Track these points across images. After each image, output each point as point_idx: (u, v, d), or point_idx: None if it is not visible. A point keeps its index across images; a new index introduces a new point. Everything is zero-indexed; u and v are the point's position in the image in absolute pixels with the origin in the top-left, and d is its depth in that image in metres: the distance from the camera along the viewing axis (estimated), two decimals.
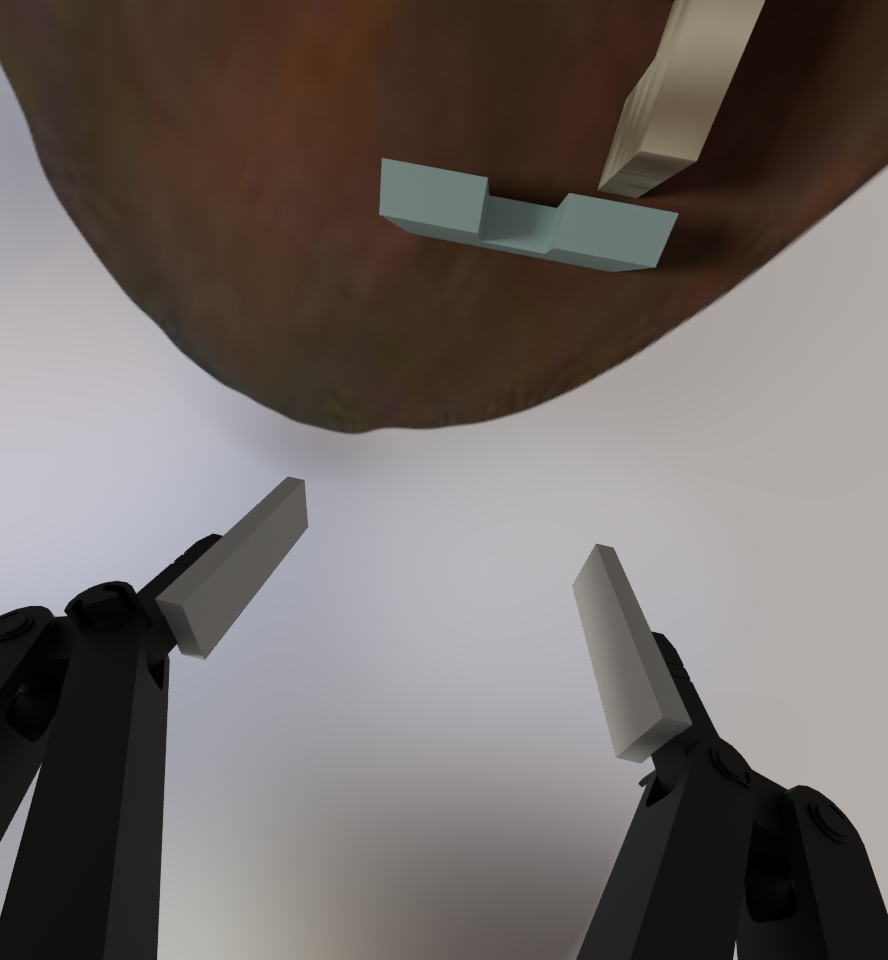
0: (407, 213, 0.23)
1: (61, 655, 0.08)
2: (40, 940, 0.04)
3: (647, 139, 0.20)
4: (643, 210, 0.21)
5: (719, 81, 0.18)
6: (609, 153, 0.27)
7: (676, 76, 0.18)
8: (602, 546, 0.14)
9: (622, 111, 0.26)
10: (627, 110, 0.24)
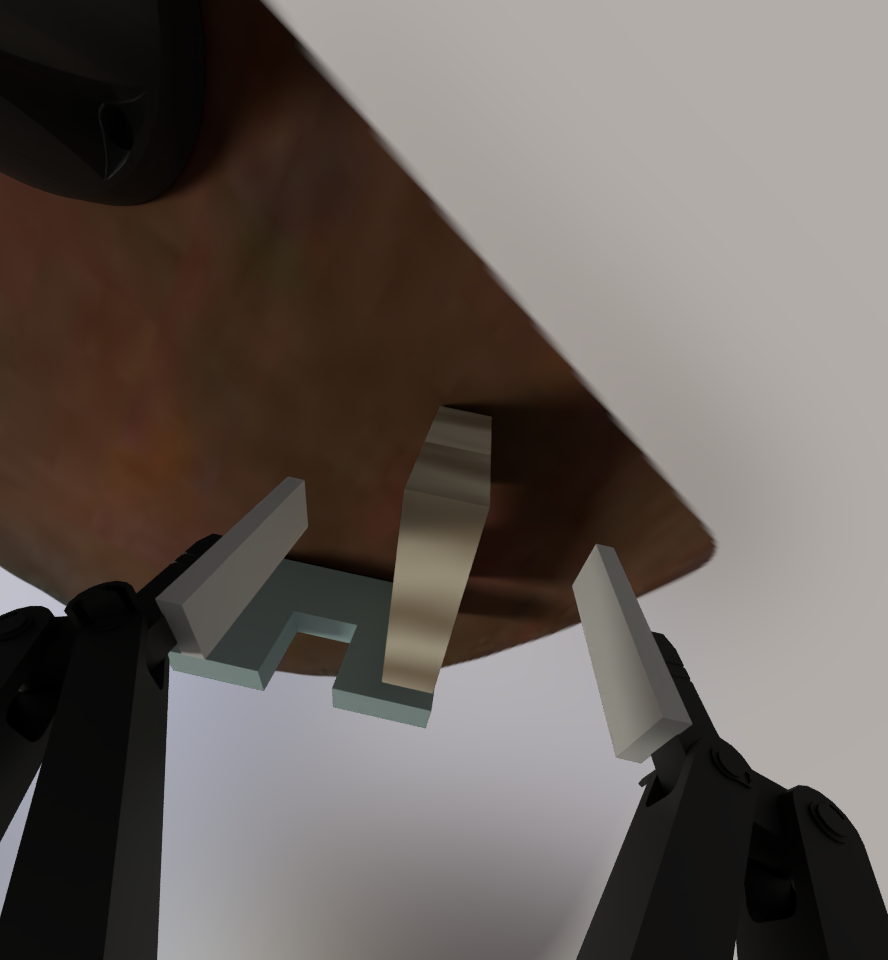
0: (197, 673, 0.25)
1: (61, 655, 0.08)
2: (40, 940, 0.04)
3: (385, 678, 0.21)
4: (400, 705, 0.23)
5: (431, 667, 0.20)
6: None
7: (393, 659, 0.20)
8: (602, 546, 0.14)
9: None
10: None
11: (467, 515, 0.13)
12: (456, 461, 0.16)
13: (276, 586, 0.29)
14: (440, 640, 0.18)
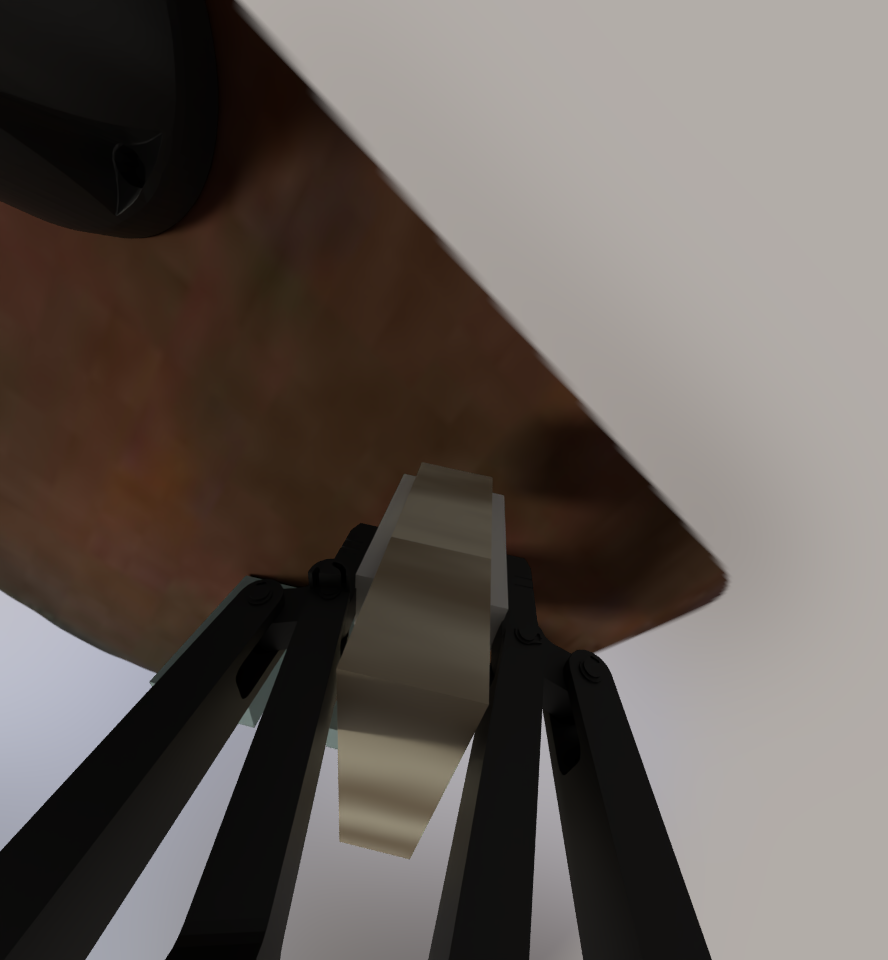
0: None
1: (296, 618, 0.10)
2: (238, 861, 0.05)
3: (343, 840, 0.15)
4: None
5: (405, 840, 0.14)
6: None
7: (351, 827, 0.14)
8: (494, 494, 0.16)
9: None
10: None
11: (450, 709, 0.08)
12: (436, 580, 0.10)
13: None
14: (415, 821, 0.12)
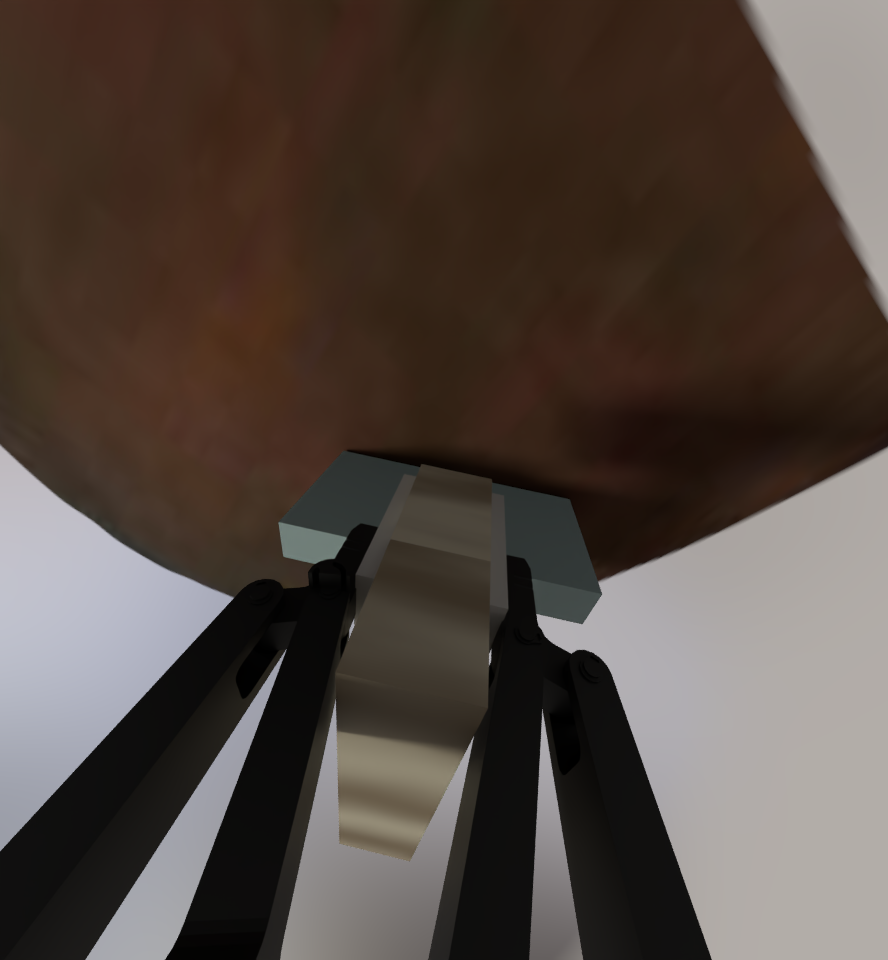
0: (313, 559, 0.21)
1: (296, 618, 0.10)
2: (238, 862, 0.05)
3: (343, 842, 0.15)
4: (564, 587, 0.19)
5: (404, 842, 0.14)
6: None
7: (351, 829, 0.14)
8: (494, 494, 0.16)
9: None
10: None
11: (449, 713, 0.08)
12: (436, 582, 0.10)
13: (383, 480, 0.26)
14: (415, 824, 0.12)
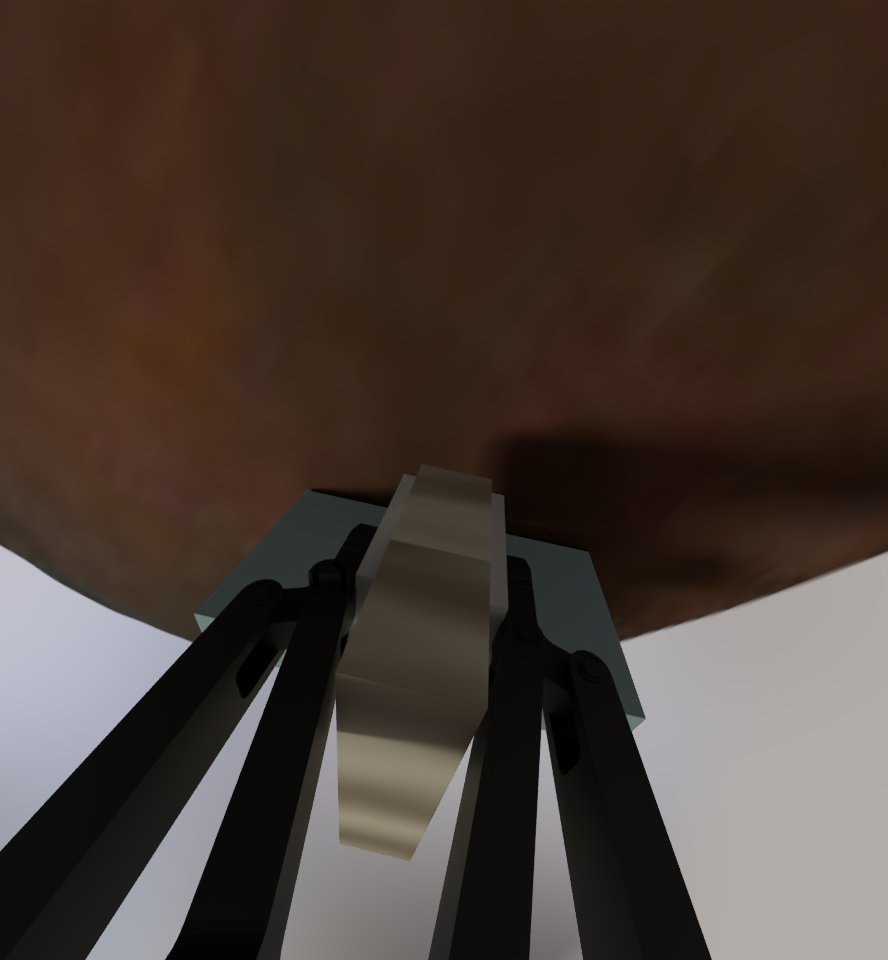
0: None
1: (296, 618, 0.10)
2: (238, 862, 0.05)
3: (343, 842, 0.15)
4: None
5: (405, 842, 0.14)
6: None
7: (351, 829, 0.14)
8: (494, 494, 0.16)
9: None
10: None
11: (449, 713, 0.08)
12: (436, 582, 0.10)
13: None
14: (415, 824, 0.12)
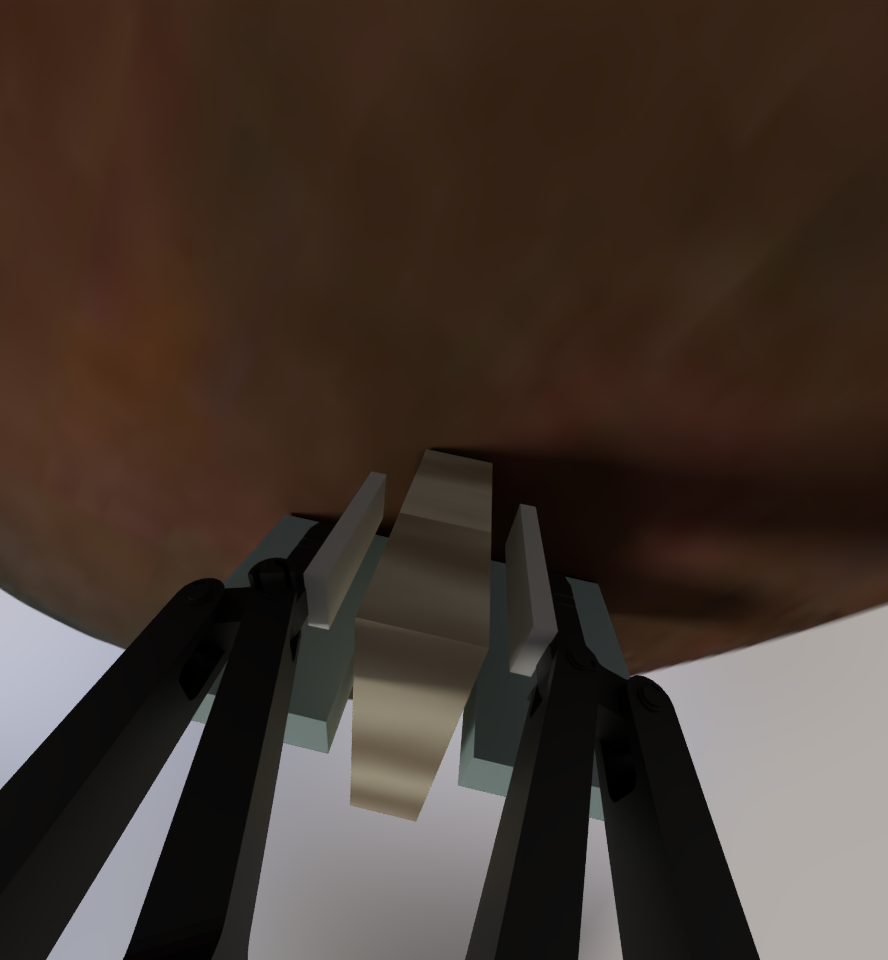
0: (206, 720, 0.13)
1: (237, 619, 0.09)
2: (188, 870, 0.05)
3: (354, 803, 0.16)
4: None
5: (412, 799, 0.15)
6: None
7: (362, 787, 0.15)
8: (525, 505, 0.15)
9: None
10: None
11: (455, 654, 0.09)
12: (441, 548, 0.11)
13: None
14: (422, 777, 0.13)
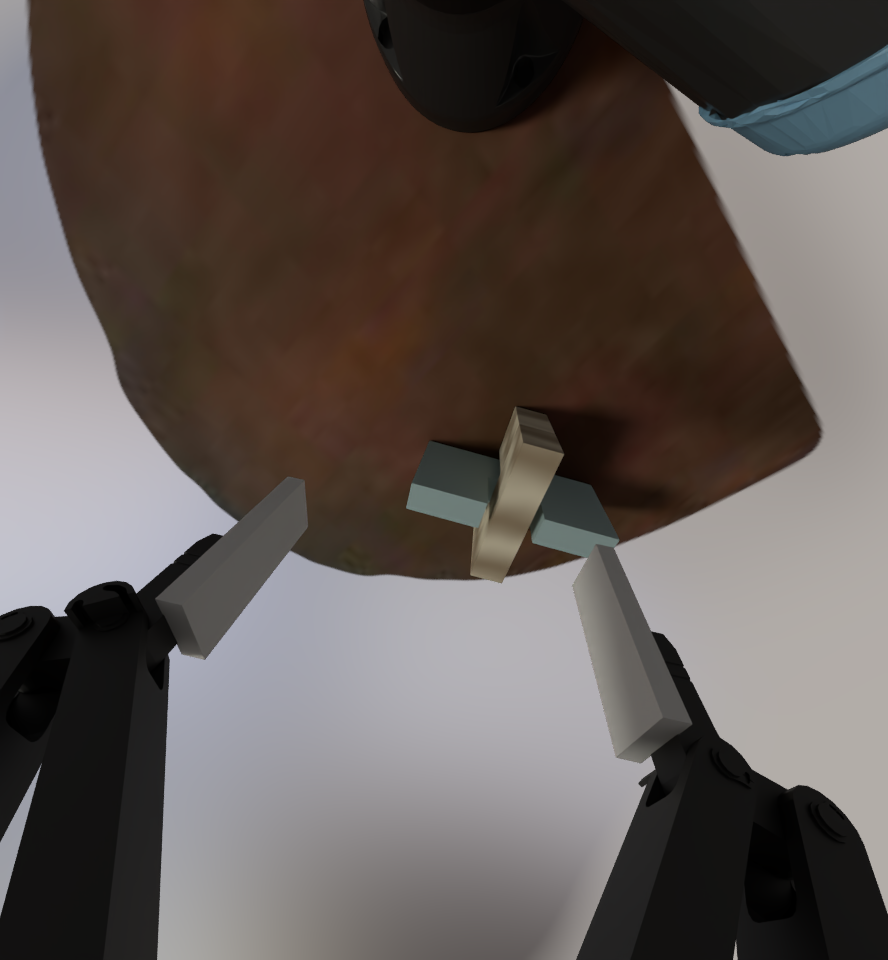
0: (427, 511, 0.31)
1: (61, 655, 0.08)
2: (40, 940, 0.04)
3: (473, 572, 0.34)
4: (595, 534, 0.30)
5: (506, 561, 0.33)
6: None
7: (483, 555, 0.33)
8: (602, 546, 0.14)
9: None
10: None
11: (552, 458, 0.27)
12: (539, 434, 0.29)
13: (464, 462, 0.36)
14: (517, 540, 0.32)
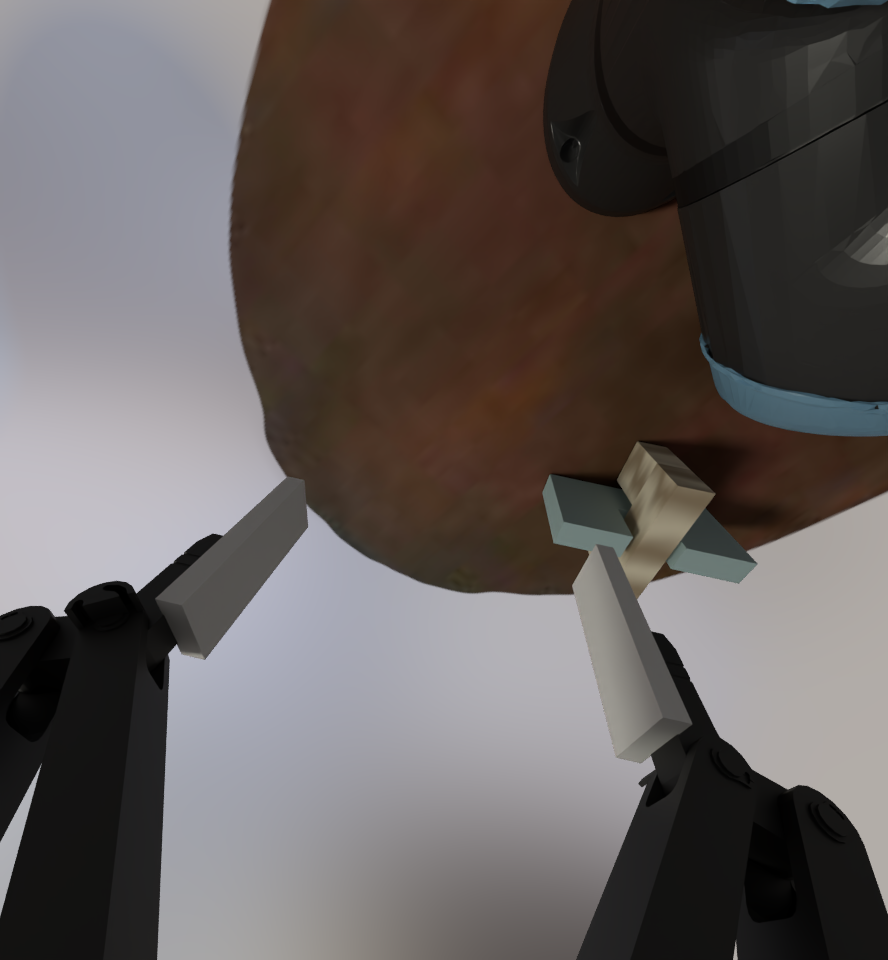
0: (573, 544, 0.35)
1: (61, 655, 0.08)
2: (40, 940, 0.04)
3: None
4: (734, 560, 0.33)
5: (642, 584, 0.36)
6: None
7: None
8: (602, 546, 0.14)
9: None
10: None
11: (703, 497, 0.30)
12: (681, 473, 0.32)
13: (590, 494, 0.39)
14: (656, 566, 0.35)
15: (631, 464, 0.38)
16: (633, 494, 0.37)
